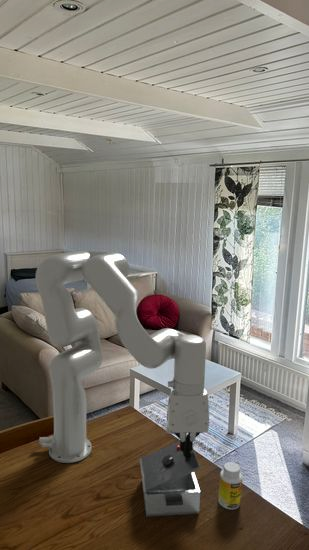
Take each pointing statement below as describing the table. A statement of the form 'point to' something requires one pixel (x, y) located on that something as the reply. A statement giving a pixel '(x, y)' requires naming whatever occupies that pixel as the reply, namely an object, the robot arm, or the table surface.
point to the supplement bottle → (230, 486)
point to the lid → (166, 466)
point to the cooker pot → (174, 498)
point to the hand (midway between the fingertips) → (186, 452)
